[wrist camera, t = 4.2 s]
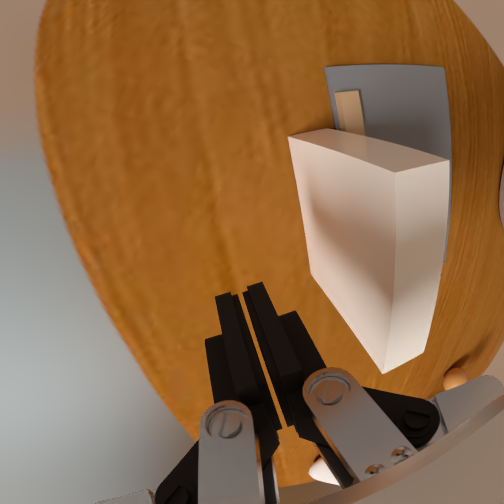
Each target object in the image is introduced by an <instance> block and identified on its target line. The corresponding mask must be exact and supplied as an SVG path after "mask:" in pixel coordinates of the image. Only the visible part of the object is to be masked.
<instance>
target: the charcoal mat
mask: <svg viewBox="0 0 504 504" xmlns="http://www.w3.org/2000/svg"><path fill="white" fill-rule="evenodd" d="M324 70H325V75H326V80H327V84H328V89H329V94H330V100H331V105H332V110H333V116H334V122H335V128H336V130H339V131H344V132H349V133H353V134H358V135H362V136H367V137H371V138H375V139H379V140H383V141H387V142H391V143H395V144H399V145H402V146H406V147H409V148H413V149H416V150H420V151H423V152H426V153H429V154H432V155H436V156H439V157H442V158H445V159H448V160H449V164H450V172H449V204H448V219H447V231H446V240H445V249H444V257H443V263H444V262H445V257H446V250H447V242H448V232H449V222H450V208H451V188H452V145H451V125H450V112H449V102H448V93H447V85H446V78H445V72H444V67H436V66H422V65H391V64H381V65H349V66H334V67H325V68H324Z"/></svg>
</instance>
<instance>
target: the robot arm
mask: <svg viewBox="0 0 504 504" xmlns="http://www.w3.org/2000/svg"><path fill="white" fill-rule="evenodd" d="M499 209H500V217H501V222H502V225H503V227H504V165H503V170H502V176H501V183H500V193H499ZM247 289H248V291H245V292H242V293H243V297H244V300H245V303H246V306H247V309H248V312H249V316H250V319H251V322H252V325H253V328H254V331H255V334H256V337H257V341H258V344H259V347H260V350H261V353H262V356H263V358H264V361H265V364H266V367H267V370H268V373H269V376H270V379H271V382H272V384H273V387H274V390H275V393H276V396H277V399H278V401H279V404H280V407H281V410H282V413H283V415H284V418H285V421H286V424H287V426H288V427H289V426H292V425H294V427H295V429H296V432H298V434H299V437H300V438H303V439H306V440H309V441H312V443H313V445H314V446H315V448H316V450H317V451H318V453H319V454H320V456H321V457H322V459H323V460H324V462H325V463H326V465H327V467H328V468H329V470H330V471H331V473H332V474H333V476H334V477H335V479H336V480H337V482H338V483H339V485H340V486H341V488H342V489H343V490H341V491H338V492H335V493H333V494H330V495H328V496H325V497H322V498H319V499H316V500H313V501H310V502H307V503H304V504H504V387H503V385H502V384H501V382H500V381H499V380H498V379H497V378H495V377H494V376H490V375H485V376H480V377H478V378H476V379H474V380H471V381H469V382H467V383H464V384H462V385H459V386H457V387H454V388H452V389H449V390H446V391H444V392H441V393H438V394H435V395H434V397H433V398H431V399H428V400H424V399H421V398H415V397H410V396H405V395H399V394H394V393H390V392H385V391H380V390H376V389H371V388H367V387H362V386H361V385H360V384H359V383H358V382H357V381H356V379H355V378H354V377H353V376H352V375H351V374H350V373H348V372H347V371H345V370H343V369H340V368H334V367H330V368H327V367H326V365H325V363H324V361H323V360H322V358H321V356H320V354H319V352H318V350H317V348H316V347H315V345H314V343H313V341H312V339H311V337H310V335H309V334H308V332H307V330H306V328H305V326H304V324H303V323H302V321H301V319H300V317H299V315H298V314H297V312H296V311H292V312H290V313H287V314H284V315H281V316H278V315H277V313H276V311H275V309H274V306H273V304H272V302H271V300H270V298H269V295H268V293H267V291H266V289H265V287H264V285H263V282H260V283H257V284H253V285H250V286H247ZM215 300H216V305H217V310H218V315H219V320H220V325H221V329H222V334H221V335H217V336H214V337H211V338H207V339H205V347H206V354H207V361H208V367H209V374H210V380H211V386H212V392H213V398H214V405H212V406H210V407H209V408H208V409H207V410H206V411H205V412H204V414H203V416H202V417H201V420H200V425H199V440H198V441H197V442H196V443H195V444H194V446H193V447H192V448H191V449H190V450H189V452H188V453H187V454H186V455H185V456H184V458H183V459H182V460H181V461H180V462H179V464H178V465H177V466H176V467H175V468H174V469H173V470H172V472H171V473H170V474H169V475H168V476H167V477H166V478H165V479H164V481H163V482H162V483H161V484H160V485H159V487H158V488H157V489H154V490H149V489H146V490H143V491H139V492H135V493H132V494H128V495H125V496H121V497H116V498H112V499H108V500H103V501H100V502H98V503H95V504H279V495H278V487H277V479H276V472H275V464H274V457H273V454H274V452H275V450H276V449H277V447H278V446H279V444H280V443H279V440H278V439H279V437H278V434H277V430H280V429H282V426H281V423H280V420H279V417H278V414H277V411H276V408H275V405H274V402H273V399H272V396H271V394H270V391H269V388H268V385H267V382H266V379H265V376H264V373H263V370H262V367H261V364H260V361H259V358H258V354H257V351H256V348H255V345H254V343H253V340H252V337H251V334H250V331H249V328H248V325H247V322H246V319H245V316H244V313H243V310H242V307H241V303H240V300H239V297H238V294H236V295H233V296H232V295H231V293H230V292H228V293H225V294H222V295H218V296H215Z"/></svg>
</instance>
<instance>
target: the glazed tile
mask: <svg viewBox="0 0 504 504" xmlns="http://www.w3.org/2000/svg"><path fill="white" fill-rule="evenodd" d="M288 141H289V146H290V151H291V156H292V161H293V166H294V172H295V177H296V183H297V188H298V194H299V199H300V205H301V211H302V217H303V223H304V230H305V236H306V242H307V249H308V256H309V263H310V270H311V275H312V276H313V277H314V279H315V280H316V281H317V283H318V284H319V286H320V287H321V288H322V290H323V291H324V292H325V294H326V295H327V296H328V298H329V299H330V301H331V302H332V303H333V305H334V306H335V307H336V309H337V310H338V312H339V313H340V314H341V316H342V317H343V318H344V320H345V321H346V323H347V324H348V325H349V327H350V328H351V330H352V331H353V332H354V334H355V335H356V337H357V338H358V339H359V341H360V342H361V344H362V345H363V347H364V348H365V349H366V351H367V352H368V354H369V355H370V357H371V358H372V359H373V361H374V362H375V364H376V365H377V367H378V368H379V370H380V371H381V372H382V374H384V373H386V372H388V371H390V370H392V369H394V368H396V367H398V366H400V365H401V364H403V363H405V362H407V361H409V360H411V359H413V358H414V357H416V356H418V355H420V354H421V353H423V352H424V349H425V345H426V342H427V338H428V334H429V330H430V326H431V322H432V317H433V313H434V308H435V304H436V299H437V294H438V288H439V283H440V277H441V271H442V264H443V257H444V249H445V240H446V231H447V219H448V204H449V172H450V164H449V160H448V159H445V158H442V157H439V156H436V155H432V154H429V153H426V152H423V151H420V150H416V149H413V148H409V147H406V146H402V145H399V144H395V143H391V142H387V141H383V140H379V139H375V138H371V137H367V136H362V135H358V134H353V133H349V132H344V131H339V130H334V129H329V128H326V129H321V130H315V131H310V132H305V133H301V134H296V135H291V136H288Z"/></svg>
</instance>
